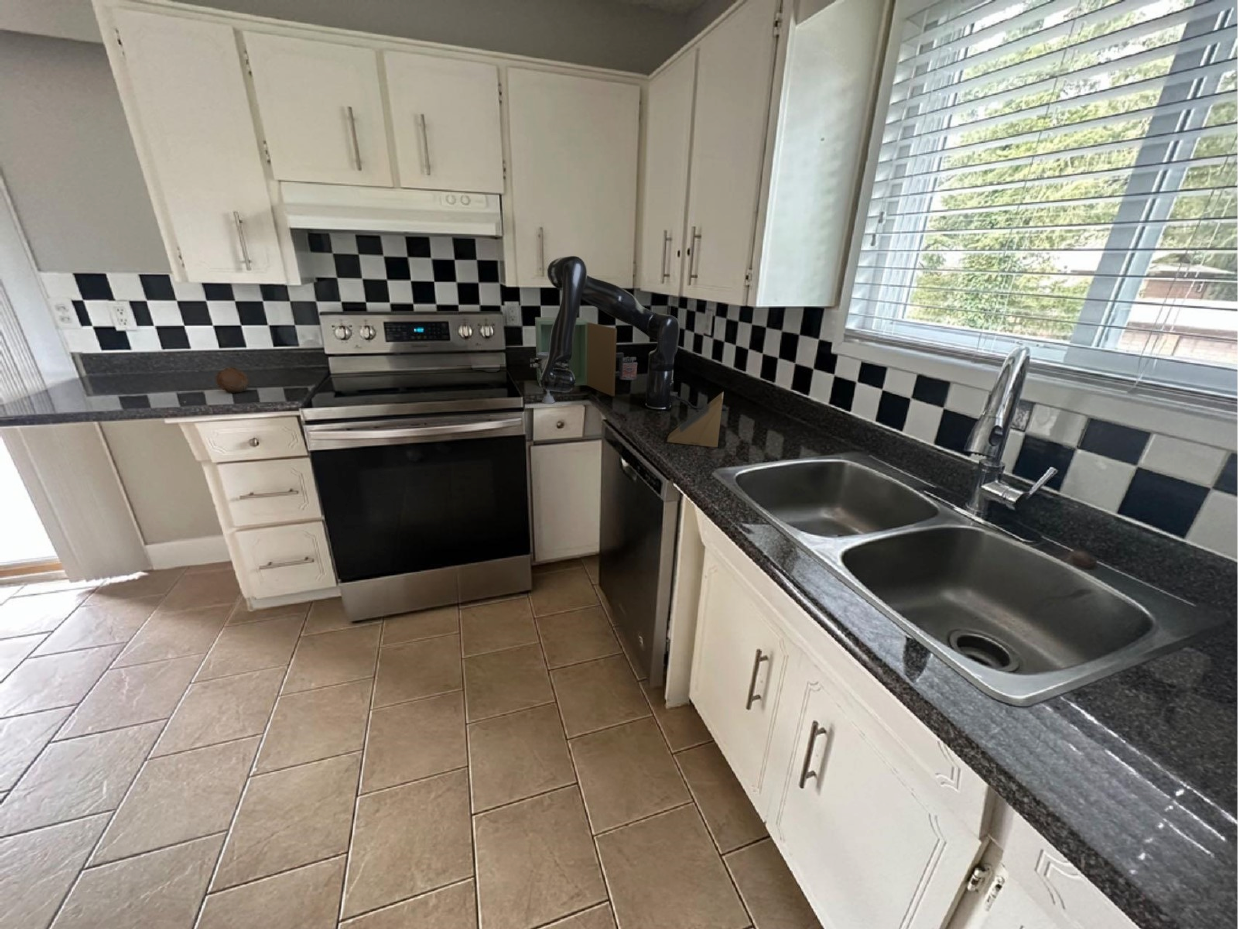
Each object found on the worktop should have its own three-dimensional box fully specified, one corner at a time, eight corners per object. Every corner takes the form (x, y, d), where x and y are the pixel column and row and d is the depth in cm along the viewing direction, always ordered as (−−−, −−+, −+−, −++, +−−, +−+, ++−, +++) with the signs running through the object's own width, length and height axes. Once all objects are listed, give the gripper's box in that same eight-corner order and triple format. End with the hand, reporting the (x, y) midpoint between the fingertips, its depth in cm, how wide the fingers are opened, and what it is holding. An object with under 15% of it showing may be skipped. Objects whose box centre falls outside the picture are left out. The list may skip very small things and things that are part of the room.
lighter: (620, 380, 226) (621, 357, 222) (618, 378, 229) (619, 356, 225) (637, 379, 228) (638, 357, 224) (635, 377, 231) (636, 356, 227)
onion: (237, 397, 190) (234, 371, 190) (256, 392, 187) (253, 366, 188) (211, 394, 181) (207, 366, 181) (230, 389, 178) (227, 361, 179)
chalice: (559, 400, 191) (559, 352, 184) (556, 404, 185) (555, 355, 178) (541, 399, 191) (539, 351, 185) (536, 403, 185) (535, 354, 178)
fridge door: (599, 383, 217) (600, 321, 207) (625, 394, 201) (628, 328, 191) (586, 385, 214) (587, 322, 204) (612, 396, 198) (614, 328, 188)
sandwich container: (669, 433, 159) (673, 386, 153) (718, 438, 156) (723, 391, 151) (666, 442, 151) (669, 393, 146) (717, 447, 148) (723, 398, 143)
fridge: (587, 385, 214) (588, 321, 204) (539, 386, 210) (537, 321, 200) (582, 377, 227) (582, 317, 217) (536, 378, 222) (535, 317, 212)
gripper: (572, 357, 169) (566, 349, 184) (530, 357, 166) (526, 349, 181) (573, 379, 172) (566, 369, 187) (530, 380, 169) (527, 369, 184)
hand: (546, 359), depth 184 cm, fingers open, 6 cm apart
